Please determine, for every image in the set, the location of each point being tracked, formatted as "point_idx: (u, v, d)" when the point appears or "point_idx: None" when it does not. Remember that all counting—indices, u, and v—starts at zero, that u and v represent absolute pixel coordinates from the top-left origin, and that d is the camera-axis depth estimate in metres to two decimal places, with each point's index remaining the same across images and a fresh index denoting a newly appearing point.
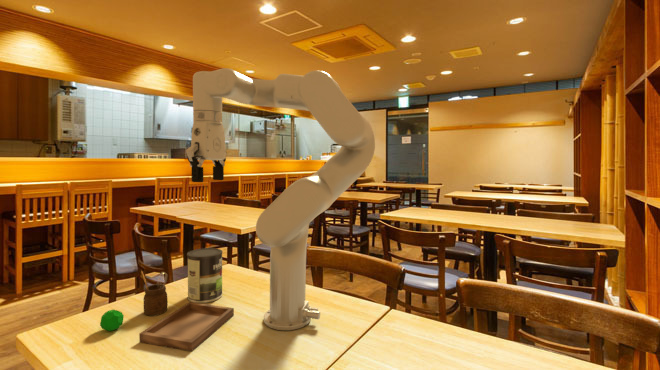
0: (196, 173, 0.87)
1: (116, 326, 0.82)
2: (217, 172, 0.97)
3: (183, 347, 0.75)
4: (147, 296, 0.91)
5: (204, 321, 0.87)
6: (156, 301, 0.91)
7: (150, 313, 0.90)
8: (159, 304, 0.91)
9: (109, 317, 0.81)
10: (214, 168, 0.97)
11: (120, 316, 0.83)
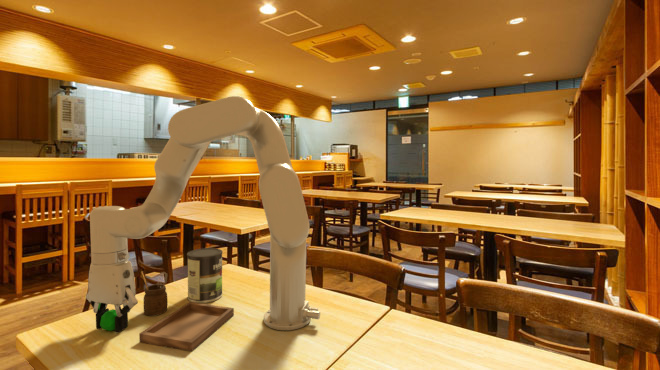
0: (126, 320, 0.83)
1: None
2: None
3: (183, 347, 0.75)
4: (147, 296, 0.91)
5: (204, 321, 0.87)
6: (156, 301, 0.91)
7: (150, 313, 0.90)
8: (159, 304, 0.91)
9: (109, 317, 0.81)
10: (100, 315, 0.83)
11: None
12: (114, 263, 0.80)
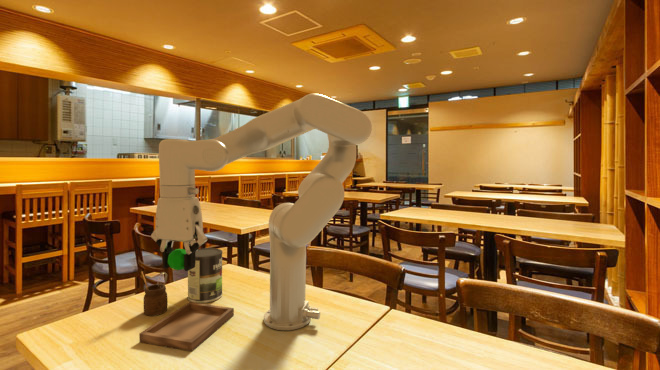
0: (194, 259, 0.79)
1: None
2: None
3: (183, 347, 0.75)
4: (147, 296, 0.91)
5: (204, 321, 0.87)
6: (156, 301, 0.91)
7: (150, 313, 0.90)
8: (159, 304, 0.91)
9: (177, 255, 0.78)
10: (167, 254, 0.79)
11: None
12: (184, 197, 0.76)
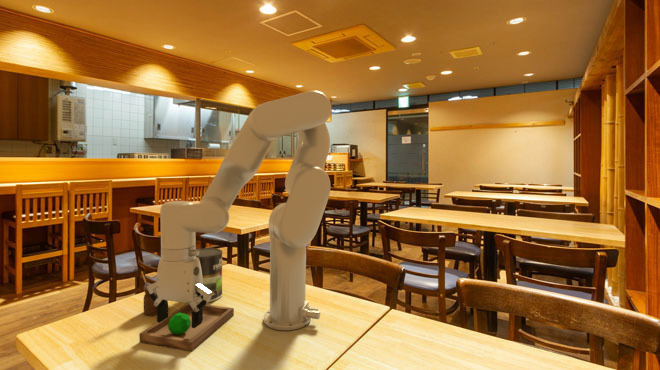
0: (201, 315, 0.80)
1: (185, 330, 0.80)
2: (164, 311, 0.82)
3: (183, 347, 0.75)
4: (147, 296, 0.91)
5: (204, 321, 0.87)
6: None
7: (150, 313, 0.90)
8: None
9: (178, 321, 0.79)
10: (161, 308, 0.81)
11: (188, 319, 0.81)
12: (185, 260, 0.77)
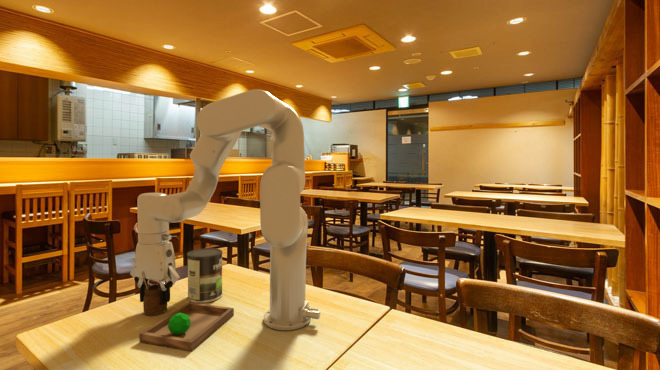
0: (169, 294, 0.92)
1: (185, 330, 0.80)
2: None
3: (183, 347, 0.75)
4: (147, 296, 0.91)
5: (204, 321, 0.87)
6: (155, 301, 0.91)
7: (150, 313, 0.90)
8: (159, 304, 0.91)
9: (178, 321, 0.79)
10: (143, 289, 0.93)
11: (188, 319, 0.81)
12: (159, 243, 0.89)
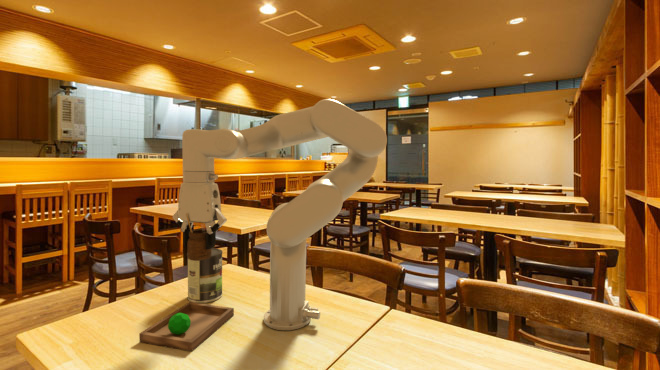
0: (214, 239, 0.86)
1: (185, 330, 0.80)
2: (189, 237, 0.88)
3: (183, 347, 0.75)
4: (192, 239, 0.85)
5: (204, 321, 0.87)
6: (201, 244, 0.85)
7: (195, 257, 0.85)
8: (204, 248, 0.85)
9: (178, 321, 0.79)
10: (187, 234, 0.87)
11: (188, 319, 0.81)
12: (205, 182, 0.83)
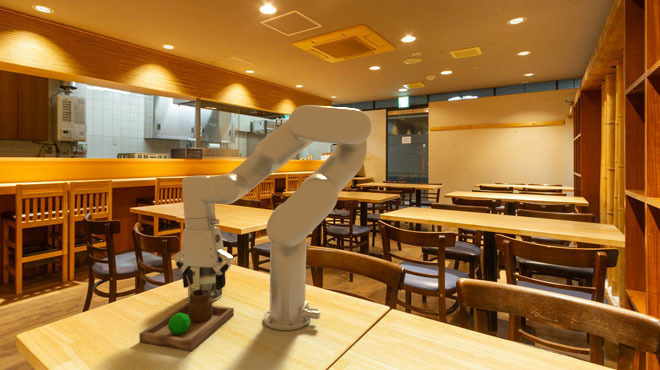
0: (224, 279, 0.87)
1: (185, 330, 0.80)
2: (189, 277, 0.89)
3: (183, 347, 0.75)
4: (193, 302, 0.86)
5: None
6: (202, 307, 0.86)
7: (196, 320, 0.86)
8: (205, 310, 0.86)
9: (178, 321, 0.79)
10: None
11: (188, 319, 0.81)
12: (207, 228, 0.84)
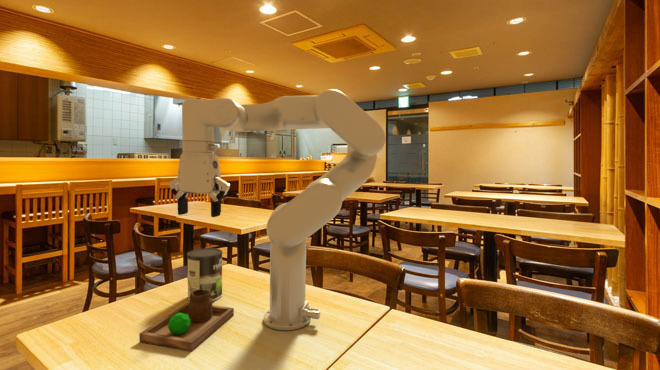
0: (220, 207, 0.85)
1: (185, 330, 0.80)
2: (184, 205, 0.88)
3: (183, 347, 0.75)
4: (193, 302, 0.86)
5: None
6: (202, 307, 0.86)
7: (196, 320, 0.86)
8: (205, 310, 0.87)
9: (178, 321, 0.79)
10: (181, 201, 0.87)
11: (188, 319, 0.81)
12: (205, 152, 0.83)
